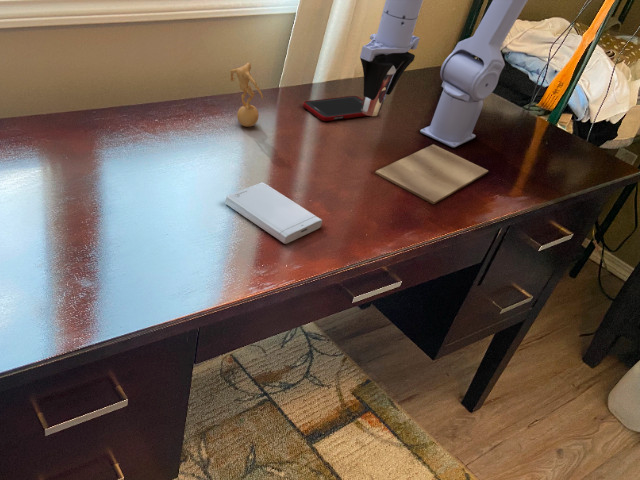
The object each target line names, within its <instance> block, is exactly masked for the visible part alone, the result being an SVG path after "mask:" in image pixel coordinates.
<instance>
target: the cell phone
mask: <svg viewBox="0 0 640 480" xmlns="http://www.w3.org/2000/svg"><path fill="white" fill-rule="evenodd" d="M362 101H363V98H361V97H360V96H358V95H348V96H340V97H331V98H322V99H314V100H313V99H312V100H305V101H303V105H302V106H303V108H304V109H305V110H307V111H308V112H309V113H311V114H312V115H313V116H315V117H317V118H318V119H319V120H321V121H323V122H330V121H334V120H336V121H337V120H343V119H344V120H345V119H352V118H359V117H367V116H369V115H366V114H364V113H362V112H361V106H362Z"/></svg>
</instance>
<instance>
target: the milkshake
mask: <svg viewBox="0 0 640 480" xmlns="http://www.w3.org/2000/svg"><path fill="white" fill-rule="evenodd" d="M403 62H404V60H403ZM403 62H402V63H403ZM402 63H401V64H402ZM401 64H400V65H401ZM400 65H399V67H400ZM399 67H398V68H399ZM398 68H397V69H398ZM397 69H395V67H394V65H393V66H392V67H391V69H390V70H389V71H388V73H387V74H386V76H385V78H384V80H383V82H382V85H381V87H380V90H379V92H378V95H377V96H376V98H375V99H374V100H371V99H369V98H367V97H365V96H364V95H363V97H362V99H363V101H362V106H361V112H362V113H364V114H366V115H368V116H369V117H378V115H379V114H380V112H381V109H382V107H383V104H384V101H385V99H386V96H387V91H388V89H389V86H390V84H391V82H392V79H393V77H394V74H395V72H396V70H397Z"/></svg>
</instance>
